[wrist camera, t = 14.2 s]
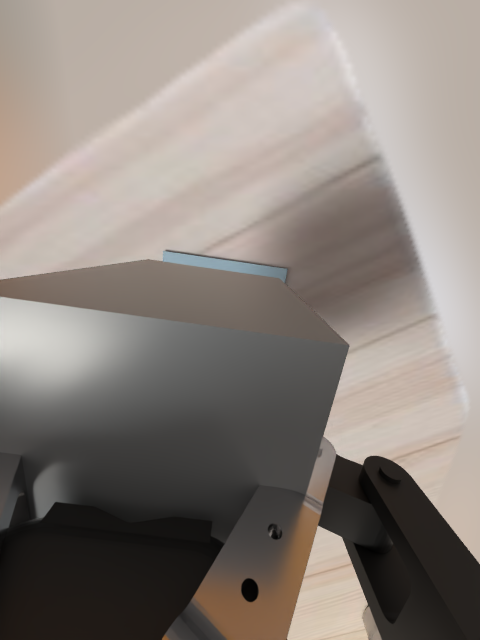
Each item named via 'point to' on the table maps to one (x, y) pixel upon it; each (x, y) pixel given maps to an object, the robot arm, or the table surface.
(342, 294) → the table surface
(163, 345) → the gray box
